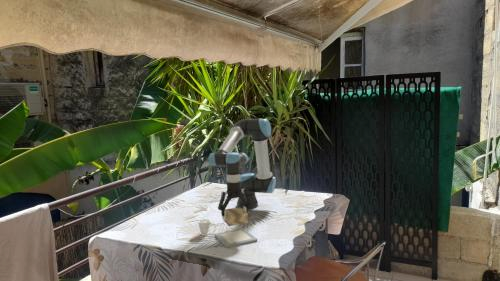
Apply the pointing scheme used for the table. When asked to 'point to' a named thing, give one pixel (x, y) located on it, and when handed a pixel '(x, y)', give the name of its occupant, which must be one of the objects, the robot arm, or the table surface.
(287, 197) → the table surface
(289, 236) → the table surface
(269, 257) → the table surface
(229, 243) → the build board
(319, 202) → the table surface
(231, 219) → the oak block
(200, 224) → the cup
